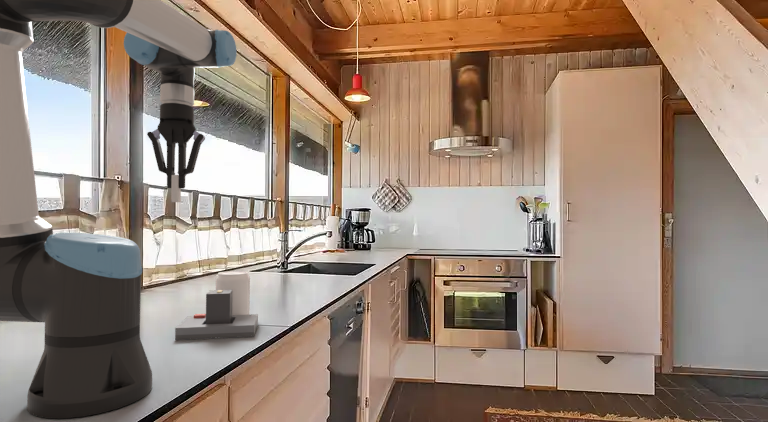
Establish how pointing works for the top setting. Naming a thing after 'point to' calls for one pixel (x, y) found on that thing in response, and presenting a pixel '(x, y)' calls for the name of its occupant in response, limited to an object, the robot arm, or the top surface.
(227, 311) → the dark grey upright block
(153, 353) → the top surface
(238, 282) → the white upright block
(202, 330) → the socket faceplate
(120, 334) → the robot arm
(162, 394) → the top surface
